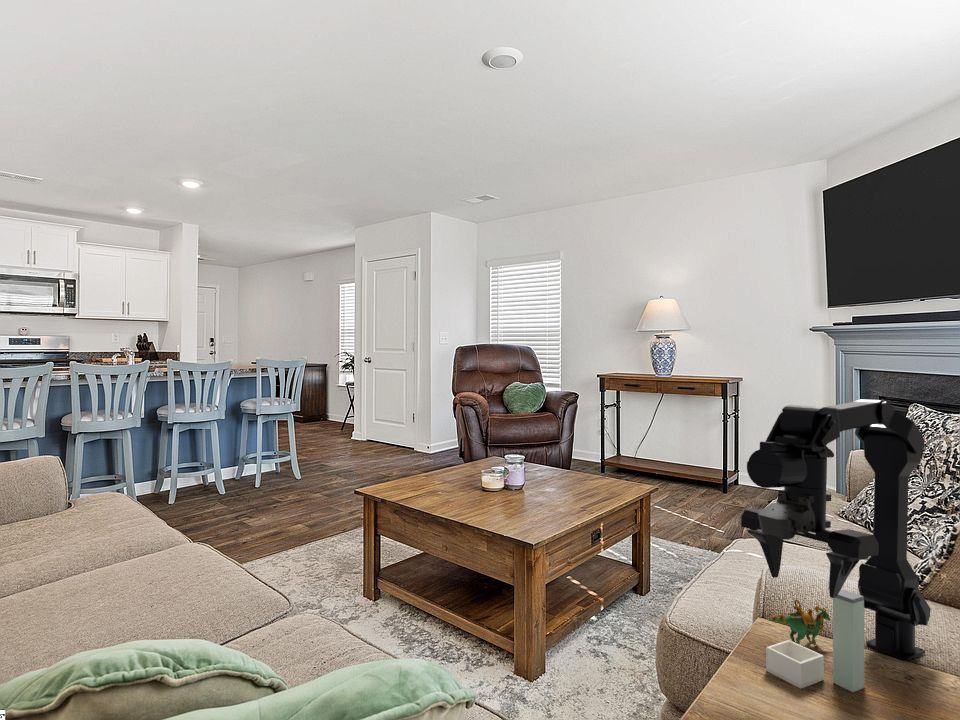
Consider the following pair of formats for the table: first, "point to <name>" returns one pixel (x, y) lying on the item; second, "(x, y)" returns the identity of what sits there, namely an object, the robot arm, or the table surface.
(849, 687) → the sage bracket post
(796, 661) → the ceramic well
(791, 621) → the figurine
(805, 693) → the table surface
